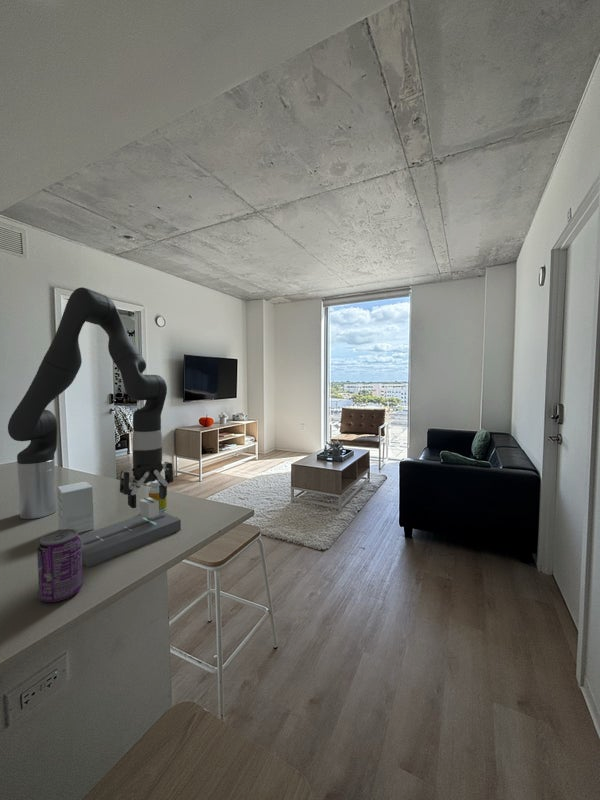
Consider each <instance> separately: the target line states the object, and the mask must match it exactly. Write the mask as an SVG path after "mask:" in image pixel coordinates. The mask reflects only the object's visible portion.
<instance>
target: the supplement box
mask: <svg viewBox="0 0 600 800" xmlns="http://www.w3.org/2000/svg"><path fill="white" fill-rule="evenodd" d="M56 488H57V489H56V491H57V507H58V508H57V509H58V510H57V511H58V528H59V530H63V529H75V530H77V531H78V534H81V533H84V532H87V531H88V532H89V531H91V530H92V531H93V530H94V529H95V525H94V524H95V520H94V517H95V516H94V497H93V496H94V493H93V492H94V491H93V486H92V485H91V484H89V483H88V481H81V482H76V483H70V484H64V485H59V486H57V487H56Z"/></svg>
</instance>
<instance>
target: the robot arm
mask: <svg viewBox="0 0 600 800" xmlns="http://www.w3.org/2000/svg"><path fill="white" fill-rule="evenodd" d="M85 322H86V323H90V324H93V325H98V326H100V327H101V329H102V330H104V332H105V333H106V335H107V337H108V342H107V343H108V344H107V349H108V353H109V355H110V358H111V359H112V361H113V362H114V364H115V365H116V367H117V369H118V370H119V372H120V376H121V379H122V382H123V387H124V391H125V394H126V395H128V397H129V398H131V399H132V400H134V401H138V402H139V401H145V404H144V405H143V407H141V408H139V409H136V410H134V412H133V416H132V420H133V421H132V425H133V426H132V428H133V429H132V430H133V431H132V446H131V447H132V469H131V470H121V471H120V474H119V475H120V477H119V478H120V479H119V493H121V494H122V495H125V496H127V505H128V507H130V508H131V509H135V508H137V494H136V493H137V492H138V490H139V489H140V488H141V487H142V485H143V484H147V483H151V482H153V481H155V480H156V481H157V482H158V483H159V484H160V486H159V498H160V499H165V497H166V496H167V495H168V485H169V484H170V483H171V484H172V483H173V482H174V471H173V463H172V462H169V461H164V462H163V435H162V419H161V418H162V412H163V409H164V405H165V401H166V399H167V393H168V386H167V383H166V380H165V379H164V378H163V376H161V375H158V374H142V373H144V372H145V370H146V368H147V363H146V361H145V359H144V357H143V356H142V355H141V352H140V351H139V349H137V347H136V346H135V344H134V342H133V341H132V340H131V338H130V336H129V333H128V331H127V329H126V327H125V324H124V322H123V320H122V317H121V315H120V313H119V311H118V308H117V306H116V304H115V302H114V301H113V300H112V299H111V298H110V297H109V296H107V295H104V294H102V293H100V292H97V291H95V290H91V289H90V288H87V287H84V286H83V287H78V288H76V289H75V290H74V291H72V293H71V294H70V295H69V298H68V299H67V302H66V304H65V308H64V310H63V313H62V316H61V319H60V322H59V324H58V327H57V330H56V333H55V334H54V337H53V339H52V341H51V343H50V345H49V347H48V349H47V351H46V353H45V354H44V357H43V359H42V360H41V363H40V365H39V367H38V369H37V372H36V374H35V375H34V378H33V380H32V381H31V383H30V385H29V387H28V389H27V391H26V392H25V394H24V396H23V398H22V399H21V401H20V402H19V403H18V405H17V406H16V408H15V409H14V411H13V412H12V414H11V416H10V418H9V420H8V424H7V433H8V436H10V438H11V439H12V440H14V441H16V442H29V441H30V442H29V444H28V446H27V447H25V448H24V449H23V450H21V451H20V452H18V453H17V455H16V459H17V460H16V462H17V463H16V465H17V485H18V486H17V487H18V489H17V490H18V507H19V508H18V509H19V518H20V519H23V520H34V519H38V518H44V517H47V516H50V515H52V514H53V513H55V512H57V493H56V491H57V489H56V488H57V487H56V468H55V467H56V465H55V463H56V462H55V454H56V451H57V449H58V447H57V446H58V422H57V421H58V420H57V418H56V416H55V415H54V413H53V412H52V411H51V410H48V409H46V408H47V407H48V406H49V405H50V404H51V402H53V400H55V399H56V398H57V397H58V396H60V395H61V394H63V392H65V391H66V390H67V389H68V388H69V387H70V386H71V385H72V383H74V380H75V379H76V377H77V374H78V373H79V372H80V368H81V367H82V363H83V362H82V353H81V349H80V344H79V343H80V342H79V337H80V334H81V331H82V329H83V327H84V325H85ZM162 462H163V463H162ZM162 471H164V476H163V475H162V474H161V473H162ZM132 476H133V478H132ZM131 479H132V480H131ZM130 480H131V482H130Z"/></svg>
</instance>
